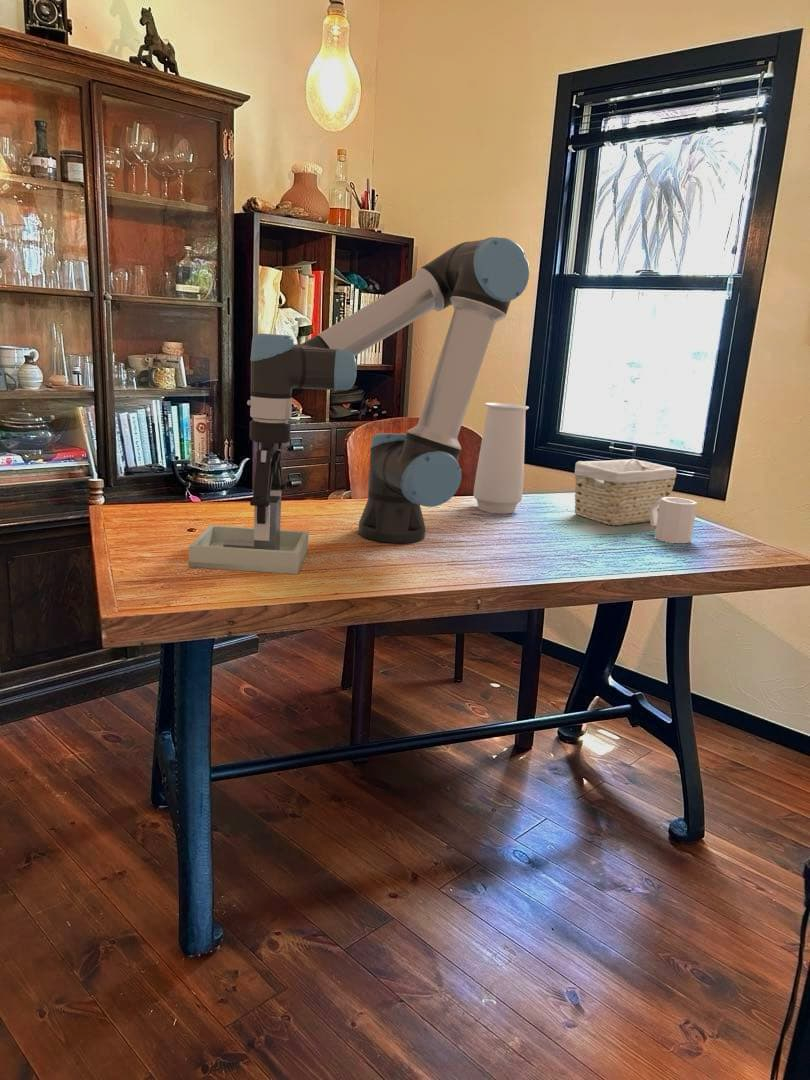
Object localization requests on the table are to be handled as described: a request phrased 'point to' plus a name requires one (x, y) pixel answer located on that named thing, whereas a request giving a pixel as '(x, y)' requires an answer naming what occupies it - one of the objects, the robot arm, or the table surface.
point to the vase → (501, 459)
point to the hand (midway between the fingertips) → (267, 530)
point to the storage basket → (620, 489)
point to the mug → (673, 519)
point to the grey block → (273, 533)
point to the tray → (247, 551)
